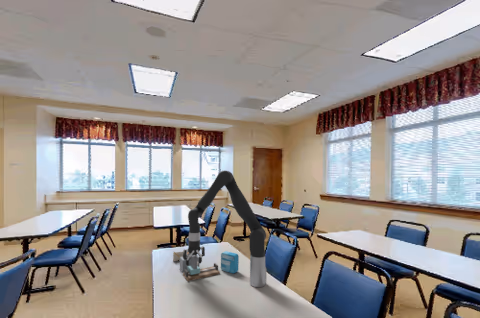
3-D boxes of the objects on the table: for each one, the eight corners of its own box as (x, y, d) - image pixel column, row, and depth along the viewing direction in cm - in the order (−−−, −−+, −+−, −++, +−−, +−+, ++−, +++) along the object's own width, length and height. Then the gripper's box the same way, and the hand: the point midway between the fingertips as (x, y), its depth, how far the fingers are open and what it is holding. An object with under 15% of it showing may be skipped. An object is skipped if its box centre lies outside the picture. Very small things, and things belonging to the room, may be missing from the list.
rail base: (213, 268, 165) (213, 261, 165) (219, 273, 156) (219, 266, 156) (182, 275, 153) (183, 268, 154) (187, 281, 145) (187, 273, 145)
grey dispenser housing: (195, 265, 170) (195, 249, 171) (199, 269, 163) (200, 253, 164) (179, 268, 164) (179, 252, 165) (182, 272, 157) (183, 256, 157)
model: (187, 261, 178) (188, 251, 179) (173, 263, 174) (173, 252, 175) (187, 259, 181) (187, 249, 182) (173, 261, 177) (173, 251, 178)
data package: (220, 270, 162) (220, 252, 163) (224, 267, 166) (224, 250, 167) (234, 274, 156) (235, 255, 157) (238, 271, 160) (238, 254, 160)
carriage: (196, 269, 157) (196, 253, 157) (200, 273, 151) (200, 257, 151) (187, 270, 154) (187, 255, 154) (191, 274, 148) (191, 258, 148)
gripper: (202, 236, 160) (201, 260, 159) (182, 239, 153) (181, 264, 152) (206, 239, 154) (206, 264, 153) (185, 242, 147) (184, 268, 146)
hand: (193, 264), depth 152 cm, fingers open, 8 cm apart
